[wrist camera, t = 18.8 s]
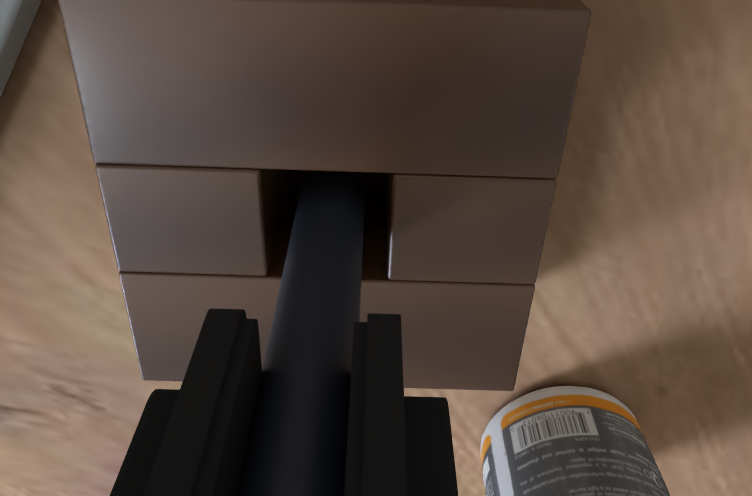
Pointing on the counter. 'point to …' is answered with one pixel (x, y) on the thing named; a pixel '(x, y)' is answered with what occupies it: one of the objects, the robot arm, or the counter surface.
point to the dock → (330, 160)
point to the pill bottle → (568, 447)
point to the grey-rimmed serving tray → (14, 33)
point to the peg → (310, 348)
